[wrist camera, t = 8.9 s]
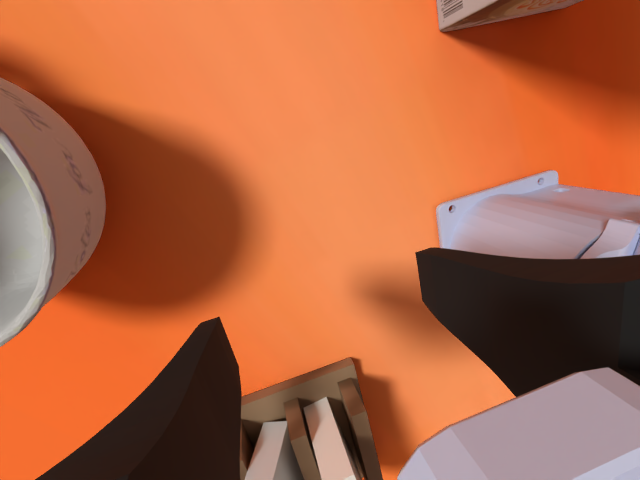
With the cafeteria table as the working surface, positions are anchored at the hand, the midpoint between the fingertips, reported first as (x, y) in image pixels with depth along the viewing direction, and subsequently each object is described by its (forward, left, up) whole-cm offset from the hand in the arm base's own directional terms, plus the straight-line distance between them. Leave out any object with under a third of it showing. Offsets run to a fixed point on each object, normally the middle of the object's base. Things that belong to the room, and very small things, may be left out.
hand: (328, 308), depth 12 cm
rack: (+3, +16, -10) cm, 19 cm away
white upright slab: (+1, +16, -9) cm, 18 cm away
